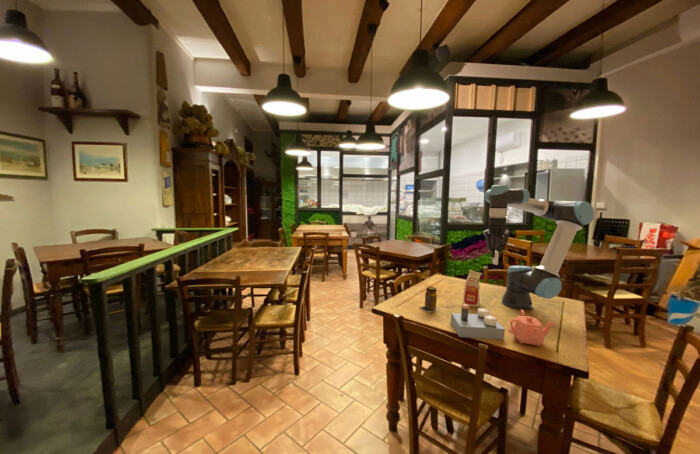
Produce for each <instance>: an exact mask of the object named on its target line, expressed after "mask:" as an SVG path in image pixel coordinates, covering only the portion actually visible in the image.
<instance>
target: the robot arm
mask: <svg viewBox="0 0 700 454" xmlns="http://www.w3.org/2000/svg"><path fill="white" fill-rule="evenodd" d="M483 200H484V201H485V202H486V203H488V204H489V212H488V215H489V217H488V226H487V229H485V230H483V231H482V233H483V235H484V239H485V244H486V249H487V250H489V251H490V257H491V258H492V261H491V262H492V263H491V264H493V265H496V266H498V265H499V259H500V258H501V252H502V251H505V249H506V247H507V243H508V239H509V237H510V235H511V234H512V231H511V230H509V229H507V226H506V225H507V215H508V207H510V208H512V209H517V210H521V211H525V212H528V213H532V214H533V215H534V216H536V217H539V218H544V219H547V220H550V221H552V222H555V223H556V228H555V230H554V232H553V235H552V236H551V238H550V241H549V243H548V246H547V248H546V250H545V252H544V255H543V257H542V258H541V260H540V263H539V265H538V266H535V267H534V268H533V267H532V266H530V265H529V266H527V265H510V266H509V267H508V269H507V277H506V288H505V289H506V290H505V292H504V293H503V296H502V298H501V303H502V304H503V305H504V306H507V307H509V308H513V309H516V310H521V309H522V310H524V311H525V310H531V309H532V308H533V303H532V302H533V301H532V298H531V294H533V295H534V296H535V295H536V296H537V297H539V298H544V299H546V300H547V299H548V300H549V299H553V298H555V297H556V296H558V295H559V294H560V292H561V291H562V288H563V286H562V285H563V284H562V281H561V280H560V279H561V276H560V274H559V272H560V269H561V267H562V265H563V263H564V260H565V258H566V256H567V254H568V251H569V250H570V248H571V245H572V243H573V241H574V238H575V236H576V234H577V232H578V231H581V230H583V227H584V225H589V224H590V223H591V224H592V221H594V217H595V210H594V207H593V205H592V204H591V203H590V202H588V201H581V200H546V199H536V198H532V197H531V193H530V192H529V190H528V189H527V188H509V185H508V184H493V185H492V186H491V187H490V189H487V190H485V193H484V195H483ZM490 237H491V238H490Z"/></svg>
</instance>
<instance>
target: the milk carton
mask: <svg viewBox="0 0 700 454" xmlns="http://www.w3.org/2000/svg"><path fill="white" fill-rule="evenodd" d="M482 275H483V273H482V272H477V271H474V270H472V269H468V274H467V278H466V281H465V284H464V288H463V299H462V300H463V301H462V304H467V305H469V307H477V308H479V306H480V304H481V303H480V302H481V301H480V287H481V286H480V278H481V276H482Z"/></svg>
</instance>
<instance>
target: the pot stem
mask: <svg viewBox="0 0 700 454" xmlns="http://www.w3.org/2000/svg"><path fill="white" fill-rule="evenodd" d="M460 308H461V310H460V311H461V312H460V313H461V320H462V321H468V314H469V310H470V306H469V305H467V304H463V303H461V306H460Z"/></svg>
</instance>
